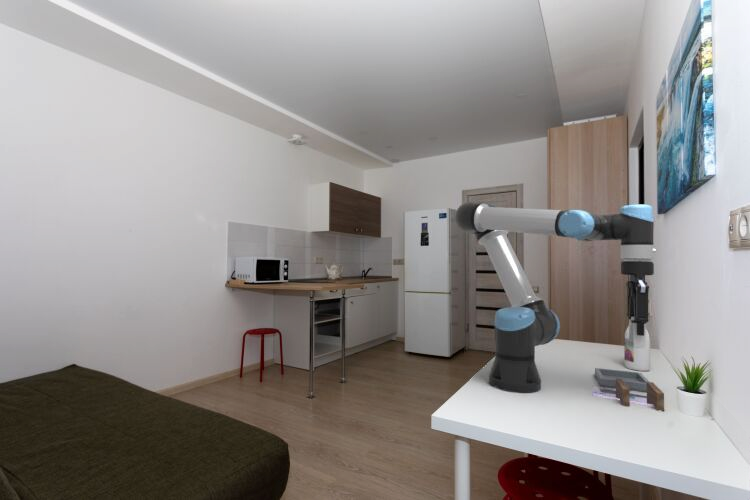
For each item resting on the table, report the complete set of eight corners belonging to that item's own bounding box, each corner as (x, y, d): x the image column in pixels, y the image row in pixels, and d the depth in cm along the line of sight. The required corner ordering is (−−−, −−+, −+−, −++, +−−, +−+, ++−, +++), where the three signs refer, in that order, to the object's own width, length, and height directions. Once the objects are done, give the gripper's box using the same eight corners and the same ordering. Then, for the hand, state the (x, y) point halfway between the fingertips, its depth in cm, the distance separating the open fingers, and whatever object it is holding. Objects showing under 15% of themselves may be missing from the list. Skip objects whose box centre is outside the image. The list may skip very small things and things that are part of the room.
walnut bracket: (623, 405, 100) (622, 388, 101) (615, 393, 110) (615, 378, 110) (664, 411, 97) (664, 393, 97) (653, 398, 106) (652, 382, 106)
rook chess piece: (649, 348, 101) (649, 318, 101) (631, 347, 102) (631, 318, 102) (641, 345, 106) (641, 316, 106) (623, 344, 107) (623, 315, 107)
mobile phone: (655, 404, 100) (590, 392, 108) (655, 408, 100) (590, 396, 108) (654, 396, 106) (593, 386, 115) (654, 400, 106) (593, 389, 115)
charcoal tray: (600, 386, 116) (600, 378, 116) (594, 375, 128) (594, 367, 128) (651, 392, 111) (651, 384, 111) (640, 380, 123) (640, 372, 123)
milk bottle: (649, 367, 138) (648, 313, 139) (651, 372, 131) (650, 315, 132) (624, 364, 142) (623, 311, 143) (624, 369, 136) (624, 313, 136)
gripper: (663, 260, 95) (663, 353, 94) (644, 261, 111) (645, 340, 110) (627, 260, 98) (628, 350, 97) (615, 260, 114) (615, 338, 113)
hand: (637, 345), depth 104 cm, fingers closed on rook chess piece, 4 cm apart
